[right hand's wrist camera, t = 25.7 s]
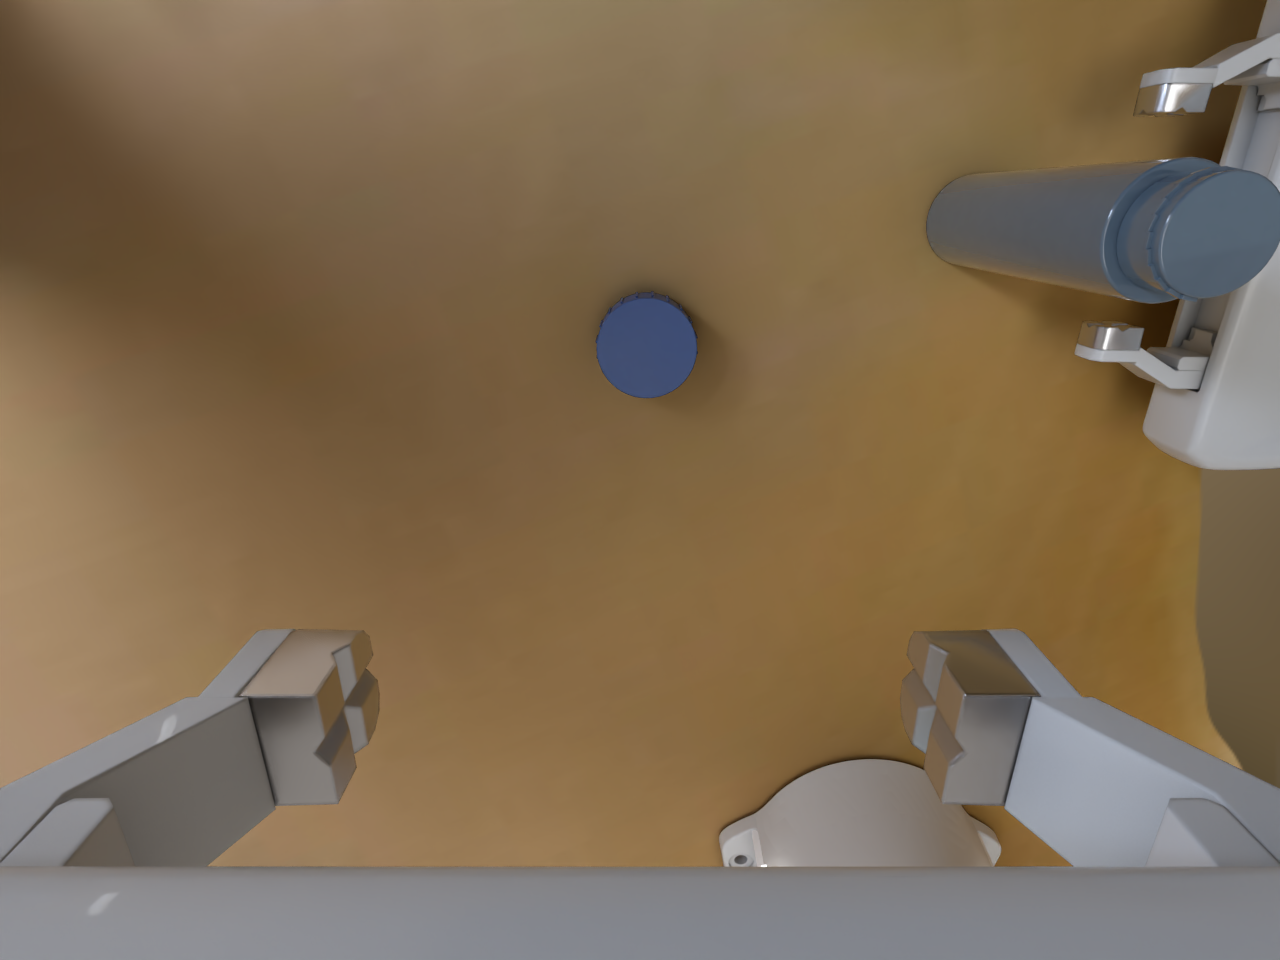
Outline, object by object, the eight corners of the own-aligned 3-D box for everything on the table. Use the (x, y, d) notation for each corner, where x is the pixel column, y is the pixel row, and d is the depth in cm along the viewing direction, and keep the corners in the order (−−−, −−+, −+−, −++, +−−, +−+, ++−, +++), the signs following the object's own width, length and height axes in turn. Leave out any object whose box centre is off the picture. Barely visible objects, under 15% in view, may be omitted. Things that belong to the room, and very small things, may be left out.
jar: (942, 165, 32) (1187, 137, 18) (1026, 183, 33) (1333, 169, 18) (913, 256, 34) (1118, 298, 19) (994, 272, 34) (1255, 325, 20)
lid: (679, 399, 37) (681, 410, 35) (587, 374, 36) (584, 384, 34) (707, 306, 35) (711, 313, 33) (611, 279, 34) (610, 284, 32)
